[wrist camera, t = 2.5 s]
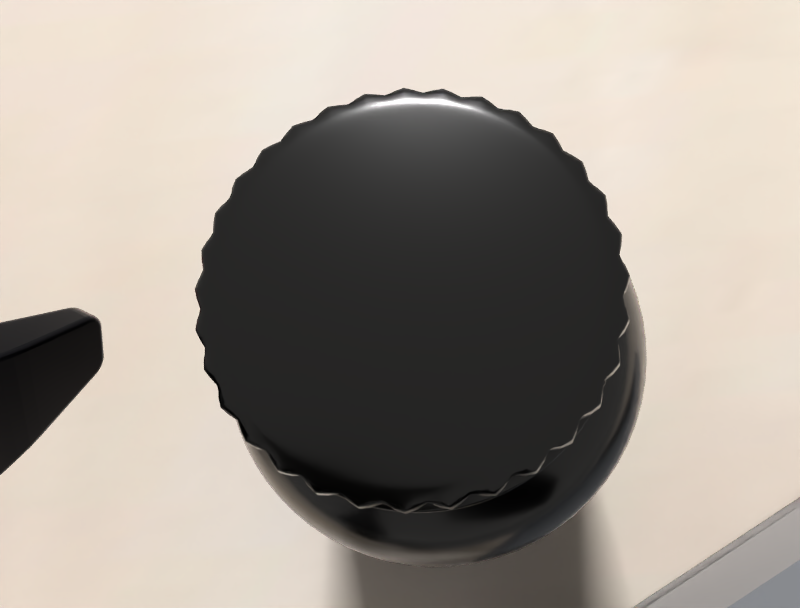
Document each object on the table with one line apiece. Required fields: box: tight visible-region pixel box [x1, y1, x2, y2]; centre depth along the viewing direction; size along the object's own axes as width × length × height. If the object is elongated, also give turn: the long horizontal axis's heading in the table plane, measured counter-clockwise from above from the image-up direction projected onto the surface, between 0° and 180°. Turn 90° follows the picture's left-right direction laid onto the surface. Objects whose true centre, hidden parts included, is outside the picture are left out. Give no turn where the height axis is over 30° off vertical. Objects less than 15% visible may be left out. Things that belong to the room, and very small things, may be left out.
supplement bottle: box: [195, 88, 646, 567], centre depth 13 cm, size 7×7×12 cm
